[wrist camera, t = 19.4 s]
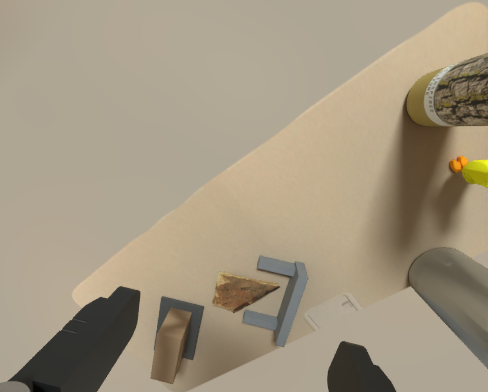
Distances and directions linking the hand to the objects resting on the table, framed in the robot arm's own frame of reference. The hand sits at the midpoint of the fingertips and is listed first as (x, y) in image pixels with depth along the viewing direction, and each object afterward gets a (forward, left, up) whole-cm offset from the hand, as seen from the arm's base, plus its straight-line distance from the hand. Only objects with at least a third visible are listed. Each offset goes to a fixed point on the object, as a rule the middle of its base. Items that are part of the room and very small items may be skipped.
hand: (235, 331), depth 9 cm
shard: (-1, +19, -29) cm, 35 cm away
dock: (-7, +19, -28) cm, 35 cm away
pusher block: (+8, +32, -28) cm, 43 cm away
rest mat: (+8, +32, -28) cm, 43 cm away
